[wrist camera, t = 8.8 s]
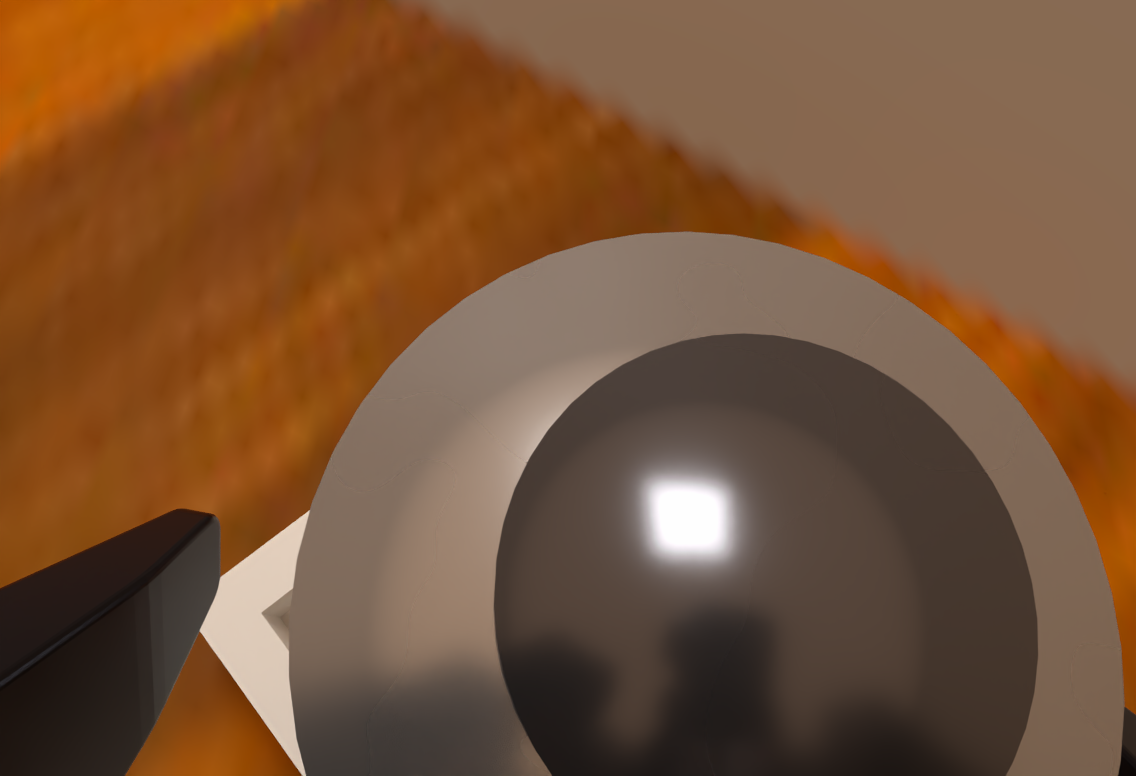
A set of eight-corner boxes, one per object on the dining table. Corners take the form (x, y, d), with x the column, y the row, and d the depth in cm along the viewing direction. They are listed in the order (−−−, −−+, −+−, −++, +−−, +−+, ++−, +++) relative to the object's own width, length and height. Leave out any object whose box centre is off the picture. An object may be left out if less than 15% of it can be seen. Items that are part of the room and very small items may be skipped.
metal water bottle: (491, 840, 16) (498, 1561, 3) (392, 584, 17) (108, 330, 4) (729, 717, 17) (1476, 864, 4) (619, 484, 18) (923, 51, 5)
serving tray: (525, 1034, 16) (532, 1100, 13) (223, 615, 18) (182, 606, 15) (875, 670, 18) (932, 671, 16) (581, 340, 20) (594, 296, 18)
